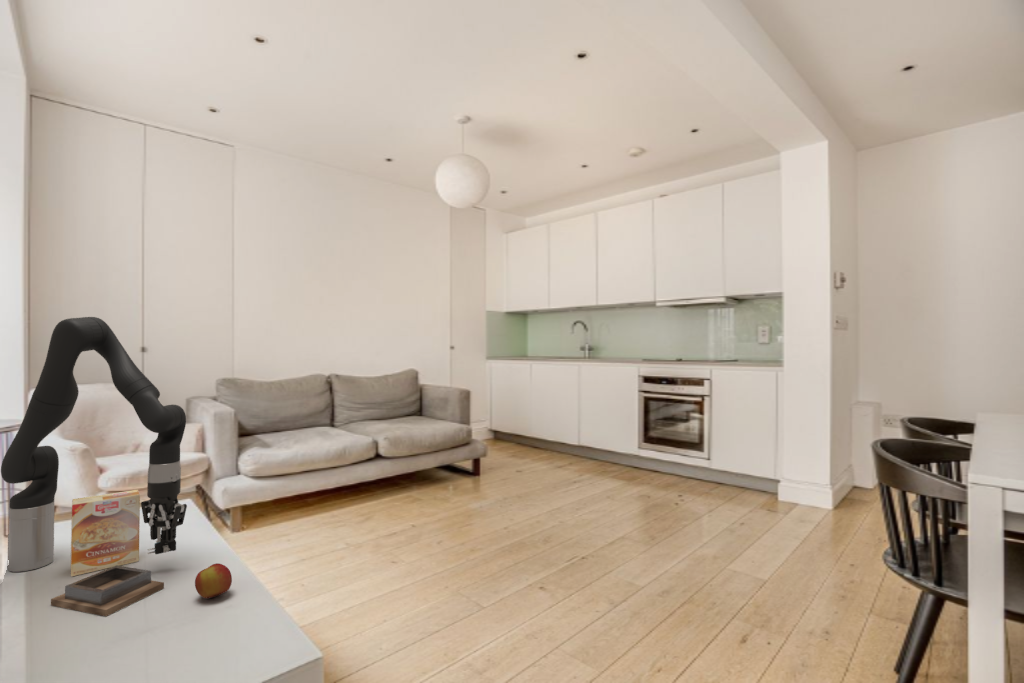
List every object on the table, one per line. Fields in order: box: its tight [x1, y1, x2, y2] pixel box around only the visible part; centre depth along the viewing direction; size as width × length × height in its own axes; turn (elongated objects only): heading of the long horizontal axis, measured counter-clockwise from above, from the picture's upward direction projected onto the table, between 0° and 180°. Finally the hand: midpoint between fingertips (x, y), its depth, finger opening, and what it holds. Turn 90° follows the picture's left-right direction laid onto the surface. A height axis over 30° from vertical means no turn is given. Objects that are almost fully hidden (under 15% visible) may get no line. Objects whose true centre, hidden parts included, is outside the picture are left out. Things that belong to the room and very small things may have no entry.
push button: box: [147, 514, 177, 555], centre depth 137 cm, size 7×5×10 cm
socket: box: [64, 565, 152, 606], centre depth 124 cm, size 12×12×3 cm
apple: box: [194, 563, 233, 599], centre depth 123 cm, size 8×8×8 cm
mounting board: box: [50, 579, 165, 617], centre depth 123 cm, size 18×14×2 cm
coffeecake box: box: [70, 489, 141, 578], centre depth 142 cm, size 15×7×20 cm, turn 131°
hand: (163, 539), depth 137 cm, fingers closed on push button, 4 cm apart
